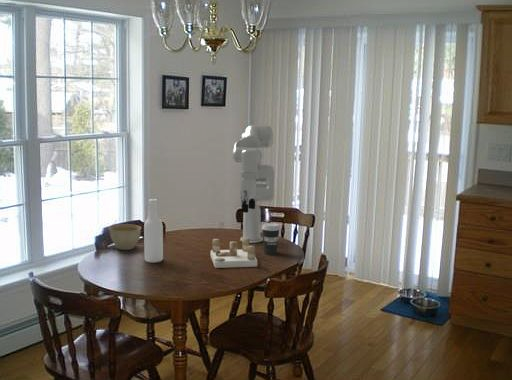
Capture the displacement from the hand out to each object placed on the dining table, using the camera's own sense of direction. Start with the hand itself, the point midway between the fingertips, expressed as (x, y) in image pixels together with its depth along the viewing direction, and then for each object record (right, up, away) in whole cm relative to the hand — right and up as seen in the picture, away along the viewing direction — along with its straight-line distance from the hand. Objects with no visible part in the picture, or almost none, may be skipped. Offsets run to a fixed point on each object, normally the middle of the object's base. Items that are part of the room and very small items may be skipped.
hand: (248, 210), depth 284 cm
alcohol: (-46, -24, +1) cm, 52 cm away
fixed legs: (-7, -22, +1) cm, 23 cm away
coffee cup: (+11, -23, +17) cm, 31 cm away
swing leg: (-11, -22, +1) cm, 24 cm away
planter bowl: (-64, -21, +22) cm, 71 cm away
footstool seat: (-7, -25, +2) cm, 26 cm away
